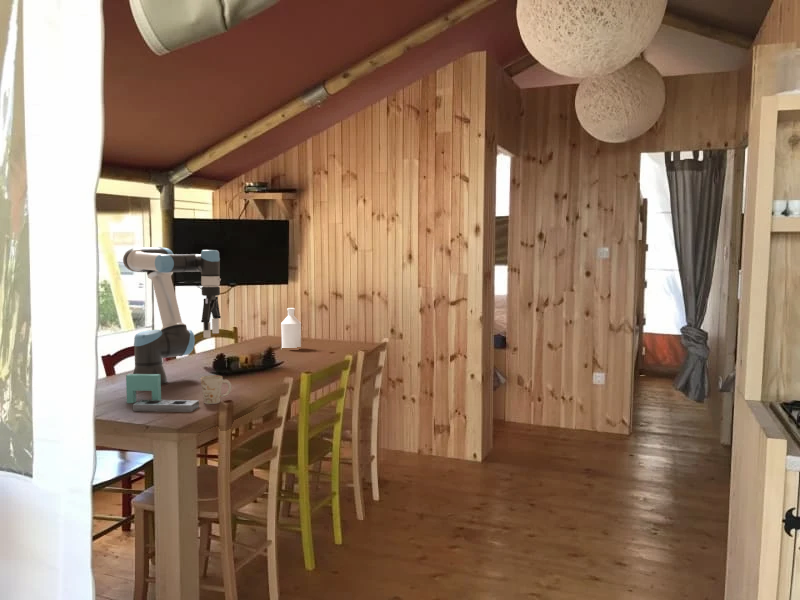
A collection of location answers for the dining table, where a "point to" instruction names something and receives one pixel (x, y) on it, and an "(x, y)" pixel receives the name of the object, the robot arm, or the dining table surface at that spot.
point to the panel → (143, 385)
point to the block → (166, 405)
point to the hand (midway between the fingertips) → (211, 335)
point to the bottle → (291, 331)
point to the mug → (213, 388)
